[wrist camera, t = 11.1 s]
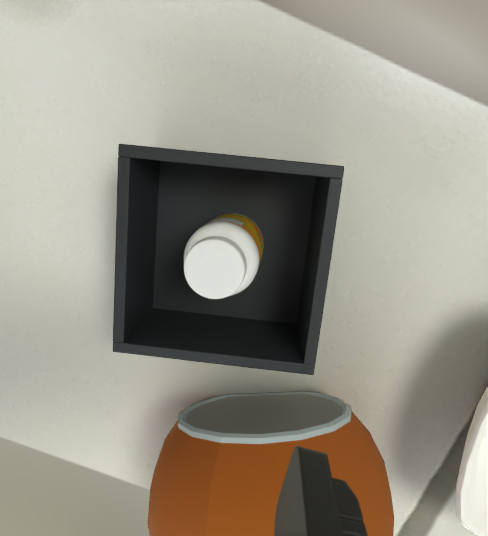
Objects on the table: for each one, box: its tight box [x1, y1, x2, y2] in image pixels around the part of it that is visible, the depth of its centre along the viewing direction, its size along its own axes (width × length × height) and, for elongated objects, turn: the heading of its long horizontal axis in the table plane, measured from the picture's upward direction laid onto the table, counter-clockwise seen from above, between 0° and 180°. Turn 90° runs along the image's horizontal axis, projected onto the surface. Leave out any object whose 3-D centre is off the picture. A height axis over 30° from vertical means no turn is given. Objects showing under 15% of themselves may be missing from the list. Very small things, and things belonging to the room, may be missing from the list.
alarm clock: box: [148, 392, 394, 536], centre depth 34 cm, size 19×18×17 cm
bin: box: [113, 144, 344, 375], centre depth 34 cm, size 15×15×9 cm
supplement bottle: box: [184, 213, 264, 299], centre depth 32 cm, size 5×5×10 cm
